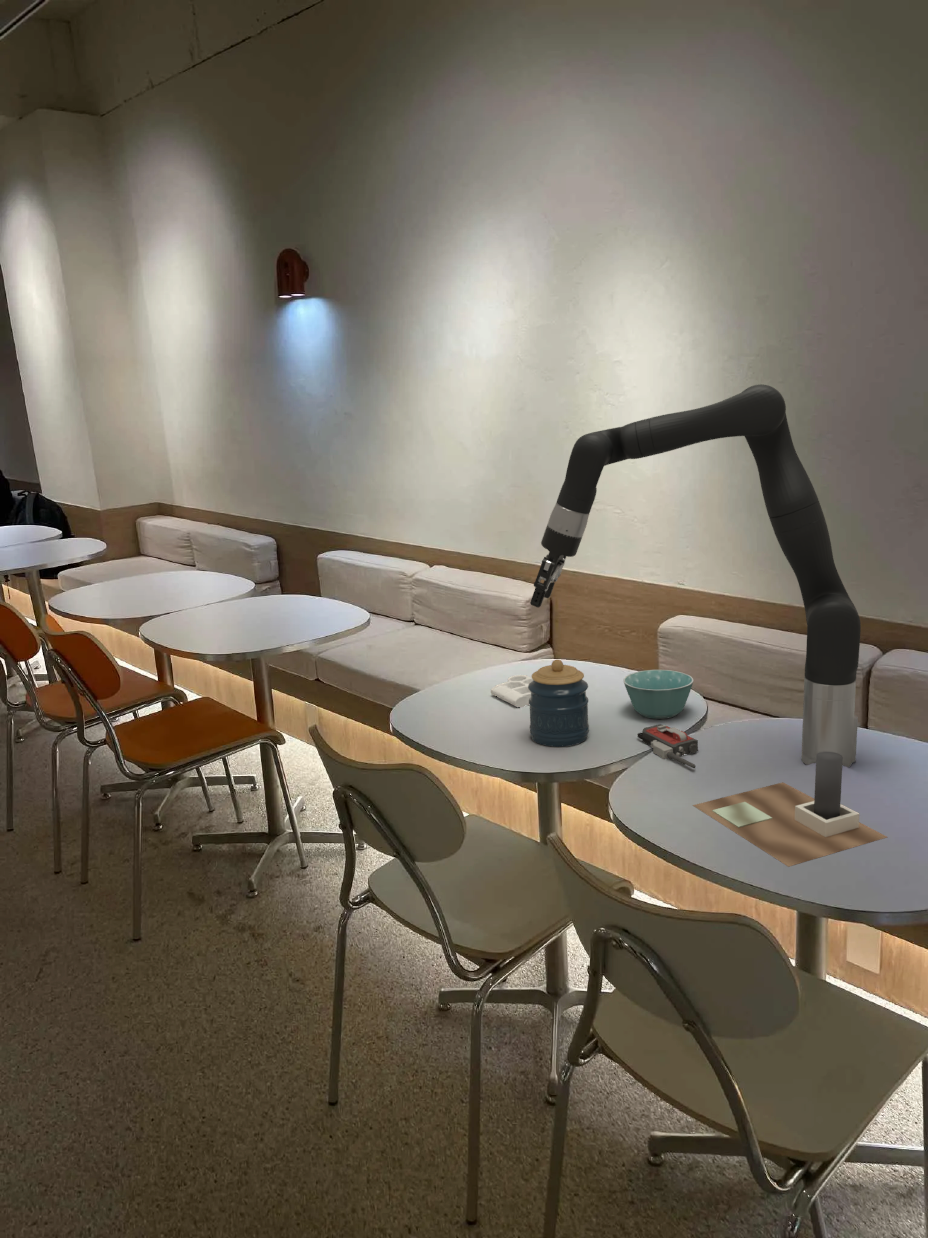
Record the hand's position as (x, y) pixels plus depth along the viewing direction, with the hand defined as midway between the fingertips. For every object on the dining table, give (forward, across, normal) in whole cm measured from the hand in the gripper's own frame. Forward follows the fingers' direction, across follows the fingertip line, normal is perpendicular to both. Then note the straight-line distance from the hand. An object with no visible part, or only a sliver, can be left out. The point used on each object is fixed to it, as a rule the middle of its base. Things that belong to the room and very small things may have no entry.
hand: (539, 601), depth 187 cm
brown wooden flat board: (+12, -30, -56) cm, 65 cm away
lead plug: (+8, -30, -62) cm, 69 cm away
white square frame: (+8, -30, -62) cm, 69 cm away
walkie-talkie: (+20, 0, -37) cm, 42 cm away
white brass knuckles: (+34, +29, -1) cm, 45 cm away
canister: (+29, +4, -14) cm, 32 cm away
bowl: (+22, +23, -32) cm, 45 cm away
